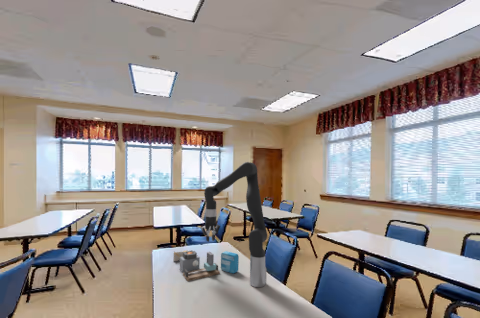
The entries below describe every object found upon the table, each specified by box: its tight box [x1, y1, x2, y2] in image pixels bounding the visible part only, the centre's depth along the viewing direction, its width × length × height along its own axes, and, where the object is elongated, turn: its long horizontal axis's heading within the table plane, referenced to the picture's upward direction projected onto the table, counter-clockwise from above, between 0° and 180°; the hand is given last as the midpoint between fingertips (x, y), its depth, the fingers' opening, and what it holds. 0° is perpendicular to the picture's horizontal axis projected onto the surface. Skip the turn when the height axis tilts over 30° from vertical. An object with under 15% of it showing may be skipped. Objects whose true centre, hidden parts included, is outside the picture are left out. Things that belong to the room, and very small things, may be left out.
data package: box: [220, 250, 240, 274], centre depth 161 cm, size 12×4×12 cm, turn 57°
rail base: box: [182, 262, 221, 282], centre depth 155 cm, size 22×10×4 cm, turn 121°
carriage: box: [203, 251, 217, 271], centre depth 158 cm, size 6×7×10 cm
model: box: [173, 250, 189, 262], centre depth 178 cm, size 3×11×8 cm, turn 113°
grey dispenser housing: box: [179, 250, 201, 273], centre depth 164 cm, size 12×8×11 cm
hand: (210, 240), depth 159 cm, fingers open, 3 cm apart
